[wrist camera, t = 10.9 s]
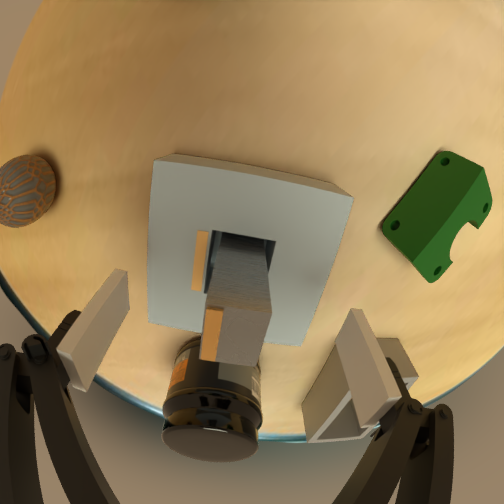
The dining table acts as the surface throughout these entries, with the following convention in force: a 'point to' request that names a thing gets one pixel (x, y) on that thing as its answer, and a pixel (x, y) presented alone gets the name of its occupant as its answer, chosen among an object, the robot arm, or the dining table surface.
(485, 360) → the dining table surface
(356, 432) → the gray hollow rectangular box
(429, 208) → the green mounting bracket
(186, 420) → the supplement container
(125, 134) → the dining table surface
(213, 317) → the brushed metal block
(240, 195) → the plate
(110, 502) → the robot arm
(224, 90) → the dining table surface
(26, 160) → the vase
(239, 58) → the dining table surface
